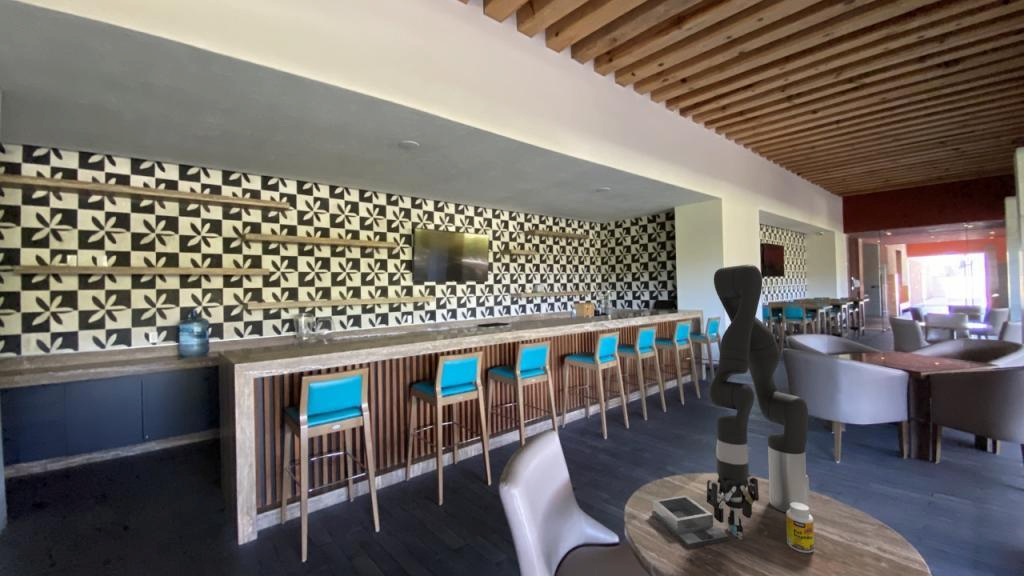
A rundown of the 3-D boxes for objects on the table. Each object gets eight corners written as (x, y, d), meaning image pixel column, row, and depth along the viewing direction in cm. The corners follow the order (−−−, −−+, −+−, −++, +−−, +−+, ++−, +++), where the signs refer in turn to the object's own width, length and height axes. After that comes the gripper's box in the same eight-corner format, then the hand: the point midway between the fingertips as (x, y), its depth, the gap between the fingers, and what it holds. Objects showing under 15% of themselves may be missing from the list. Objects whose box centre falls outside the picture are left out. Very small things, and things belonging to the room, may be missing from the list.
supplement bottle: (791, 552, 100) (790, 510, 101) (783, 538, 106) (782, 499, 106) (818, 555, 99) (816, 513, 99) (809, 542, 104) (808, 502, 104)
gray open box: (687, 509, 121) (687, 494, 121) (728, 540, 105) (728, 524, 105) (651, 515, 118) (651, 500, 118) (688, 548, 102) (688, 531, 103)
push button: (751, 542, 105) (750, 502, 105) (729, 540, 105) (728, 501, 106) (741, 527, 111) (740, 490, 111) (720, 526, 112) (719, 489, 112)
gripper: (743, 449, 114) (744, 508, 114) (699, 454, 111) (700, 514, 110) (766, 460, 107) (767, 523, 106) (719, 465, 103) (720, 530, 103)
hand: (733, 518), depth 108 cm, fingers open, 8 cm apart
